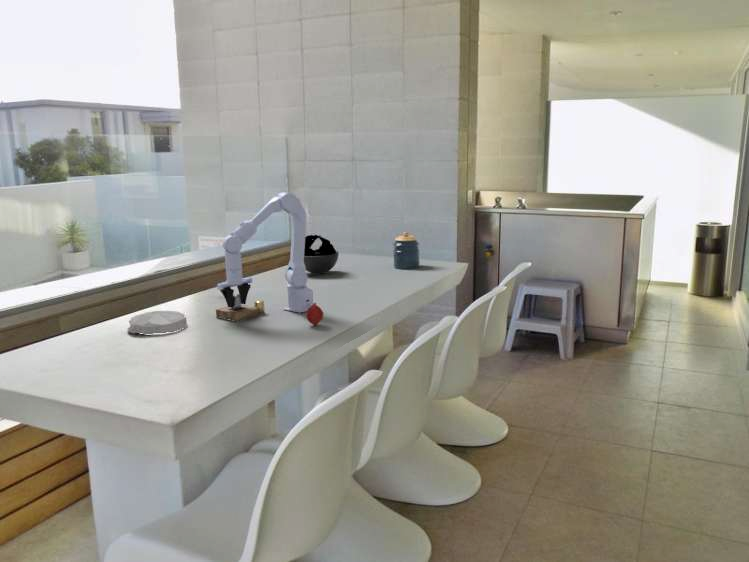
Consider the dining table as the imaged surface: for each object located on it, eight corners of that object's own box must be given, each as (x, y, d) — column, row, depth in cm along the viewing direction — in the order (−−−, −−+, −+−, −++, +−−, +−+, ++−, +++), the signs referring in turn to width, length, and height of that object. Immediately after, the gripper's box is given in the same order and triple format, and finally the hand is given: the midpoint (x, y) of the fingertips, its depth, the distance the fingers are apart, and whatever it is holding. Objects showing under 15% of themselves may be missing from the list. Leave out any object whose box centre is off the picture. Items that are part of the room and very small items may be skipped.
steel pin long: (244, 316, 242) (242, 295, 240) (235, 318, 239) (234, 296, 238) (238, 314, 244) (236, 293, 243) (230, 316, 242) (228, 295, 240)
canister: (390, 266, 333) (389, 231, 329) (414, 263, 336) (413, 229, 333) (398, 270, 321) (397, 234, 317) (423, 268, 324) (422, 232, 321)
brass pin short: (266, 312, 246) (265, 301, 245) (259, 314, 243) (258, 303, 242) (260, 311, 248) (259, 299, 247) (253, 313, 245) (252, 301, 245)
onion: (308, 328, 222) (306, 305, 221) (305, 324, 228) (304, 301, 226) (325, 326, 224) (323, 303, 222) (321, 322, 229) (320, 300, 228)
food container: (184, 319, 242) (182, 301, 241) (190, 332, 224) (188, 312, 223) (126, 327, 235) (124, 308, 234) (128, 340, 217) (126, 320, 215)
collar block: (258, 315, 242) (258, 307, 241) (237, 322, 234) (236, 313, 233) (238, 311, 249) (237, 303, 248) (216, 317, 242) (215, 309, 241)
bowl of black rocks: (301, 270, 330) (299, 233, 326) (341, 269, 329) (339, 231, 325) (295, 278, 310) (292, 238, 306) (337, 277, 309) (335, 237, 305)
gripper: (242, 264, 246) (245, 300, 249) (210, 271, 235) (213, 308, 238) (255, 266, 241) (257, 302, 244) (222, 273, 231) (226, 310, 233)
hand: (236, 305), depth 241 cm, fingers open, 5 cm apart
